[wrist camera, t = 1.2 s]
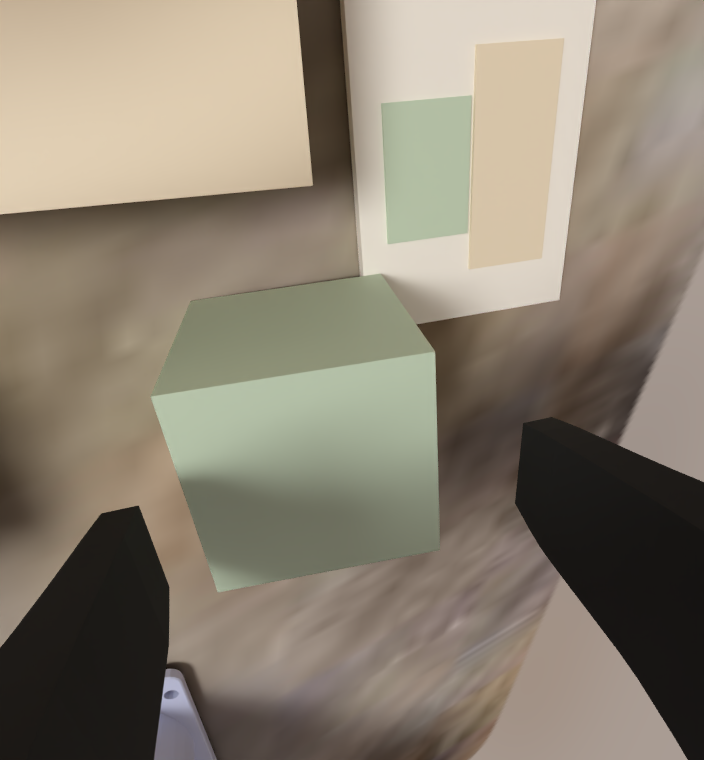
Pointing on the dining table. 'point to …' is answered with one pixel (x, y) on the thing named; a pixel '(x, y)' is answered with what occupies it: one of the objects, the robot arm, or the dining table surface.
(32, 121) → the birch base block
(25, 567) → the dining table surface
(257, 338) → the sage green block
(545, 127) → the card
